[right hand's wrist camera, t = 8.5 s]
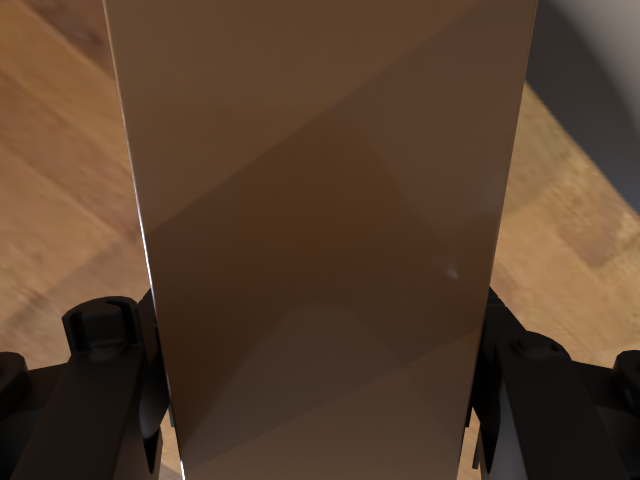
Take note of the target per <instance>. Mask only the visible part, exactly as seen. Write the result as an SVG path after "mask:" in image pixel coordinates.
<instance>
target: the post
mask: <svg viewBox="0 0 640 480" xmlns="http://www.w3.org/2000/svg"><path fill="white" fill-rule="evenodd" d="M537 4H538V0H103V6H104V12H105V18H106V24H107V30H108V35H109V41H110V47H111V53H112V59H113V65H114V71H115V77H116V83H117V89H118V95H119V100H120V106H121V112H122V118H123V124H124V130H125V136H126V142H127V148H128V154H129V160H130V165H131V171H132V177H133V183H134V189H135V195H136V201H137V207H138V213H139V219H140V225H141V230H142V236H143V242H144V248H145V254H146V260H147V266H148V272H149V278H150V284H151V290H152V295H153V301H154V307H155V313H156V319H157V325H158V331H159V337H160V343H161V349H162V355H163V360H164V366H165V372H166V378H167V384H168V390H169V396H170V402H171V408H172V414H173V420H174V426H175V431H176V437H177V443H178V449H179V455H180V461H181V467H182V473H183V479H184V480H456V479H457V474H458V468H459V462H460V456H461V450H462V444H463V438H464V432H465V427H466V421H467V415H468V409H469V403H470V397H471V391H472V385H473V380H474V374H475V368H476V362H477V356H478V350H479V344H480V338H481V333H482V327H483V321H484V315H485V309H486V303H487V297H488V291H489V286H490V280H491V274H492V268H493V262H494V256H495V250H496V244H497V239H498V233H499V227H500V221H501V215H502V209H503V203H504V197H505V192H506V186H507V180H508V174H509V168H510V162H511V156H512V150H513V145H514V139H515V133H516V127H517V121H518V115H519V109H520V103H521V98H522V92H523V86H524V80H525V74H526V68H527V62H528V56H529V51H530V45H531V39H532V33H533V27H534V21H535V15H536V9H537Z"/></svg>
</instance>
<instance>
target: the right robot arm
mask: <svg viewBox="0 0 640 480" xmlns="http://www.w3.org/2000/svg"><path fill="white" fill-rule="evenodd" d="M62 322H63V325H64V329H65V333H66V336H67V340H68V344H69V347H70V351H71V356H70V358H69V360H68V362H67V363H63V364H59V365H54V366H49V367H44V368H39V369H34V370H29V371H28V368H27V365H26V362H25V359H24V357H22V356H21V355H20V354H18V353H13V352H0V480H158V479H159V470H160V462H161V454H162V446H163V439H162V433H161V427H160V424H161V422H162V420H163V417H164V415H165V413H166V411H167V409H168V410H169V416H170V422H171V427H175V426H174V420H173V414H172V408H171V402H170V396H169V390H168V384H167V378H166V372H165V366H164V360H163V355H162V349H161V343H160V337H159V331H158V325H157V319H156V313H155V307H154V301H153V295H152V290H151V288H150V289H149V291H148V292H147V293H146V294H145V295H144V297H143V300H140V302H139V303H138V304H137V302H136V301H134V300H133V299H131V298H128V297H123V296H107V297H102V298H97V299H93V300H90V301H87V302H84V303H82V304H79V305H77V306H76V307H74V308H72V309H70V310H69V311H68V312H67V313H66V314H65V315H64V316H63V317H62ZM472 407H473V408H474V410H475V413H476V415H477V417H478V419H479V421H480V427H479V433H478V438H477V443H476V449H475V454H474V459H473V466H472V468H473V469H478V465H479V461H480V469H481V478H482V480H640V350H629V351H623V352H622V353H620V354H619V355H617V357H616V360H615V364H614V367H613V369H611V368H606V367H601V366H595V365H590V364H585V363H580V362H576V361H572V360H571V358H570V356H569V354H568V353H567V351H566V350H565V349H564V348H563V346H561V345H560V344H559V343H557V342H556V341H554V340H553V339H551V338H549V337H546V336H544V335H541V334H539V333H535V332H531V331H526V330H525V328H524V327H523V326H522V325H521V324H520V322H519V321H518V320H517V319H516V317H515V316H514V315H513V314H512V313H511V311H510V310H509V309H508V308H507V307H505V304H504V303H503V302H502V301H501V299H500V298H498V296H497V294H496V293H495V292H494V291H493V290H492V288H491V287H490V286H489V291H488V297H487V303H486V309H485V315H484V321H483V327H482V333H481V338H480V344H479V350H478V356H477V362H476V368H475V374H474V380H473V385H472V391H471V397H470V403H469V409H468V415H467V421H466V427H469V423H470V418H471V412H472Z"/></svg>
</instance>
